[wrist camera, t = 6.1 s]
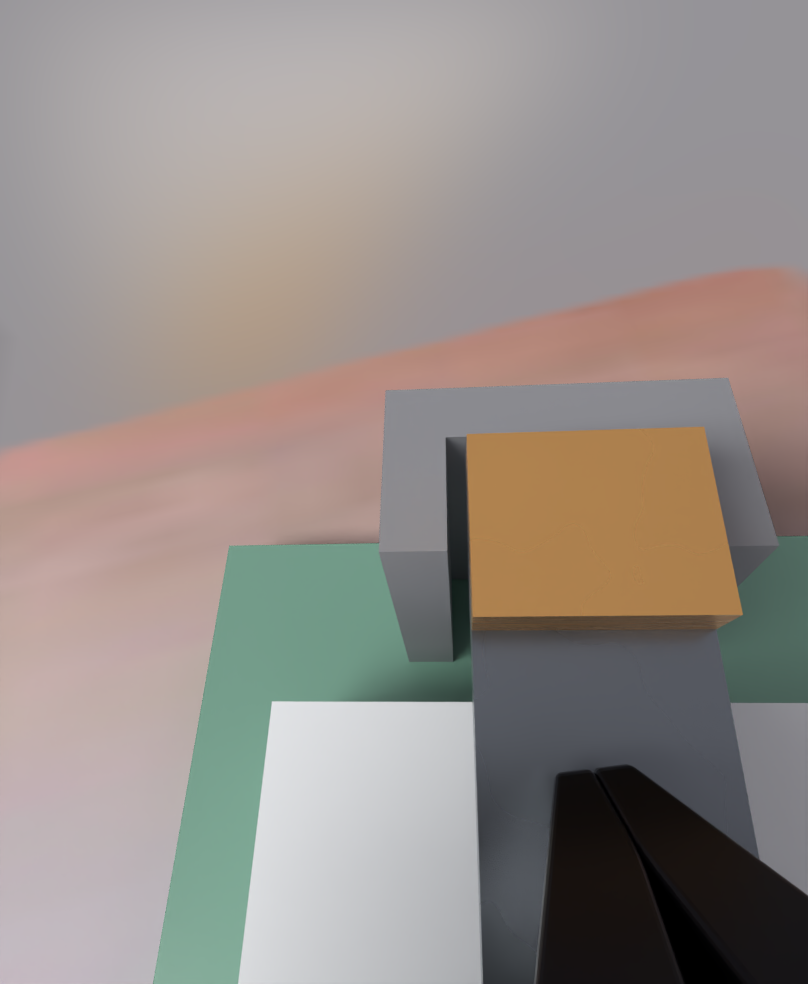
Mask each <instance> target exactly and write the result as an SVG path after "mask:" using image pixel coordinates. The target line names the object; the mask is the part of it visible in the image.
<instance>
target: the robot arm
mask: <svg viewBox="0 0 808 984" xmlns="http://www.w3.org/2000/svg"><path fill="white" fill-rule="evenodd" d="M534 984H808V895H807V894H806V893H804V892H803V891H802V890H800V889H799V888H798V887H796V886H795V885H793V884H792V883H791V882H789V881H788V880H787V879H785V878H784V877H783V876H781V875H780V874H779V873H777V872H776V871H775V870H773V869H772V868H771V867H769V866H768V865H766V864H765V863H764V862H762V861H761V860H760V859H758V858H757V857H756V856H754V855H753V854H752V853H750V852H749V851H748V850H746V849H745V848H744V847H742V846H741V845H739V844H738V843H737V842H735V841H734V840H733V839H731V838H730V837H729V836H727V835H726V834H725V833H723V832H722V831H721V830H719V829H718V828H717V827H715V826H714V825H712V824H711V823H710V822H708V821H707V820H706V819H704V818H703V817H702V816H700V815H699V814H698V813H696V812H695V811H694V810H692V809H691V808H690V807H688V806H687V805H685V804H684V803H683V802H681V801H680V800H679V799H677V798H676V797H675V796H673V795H672V794H671V793H669V792H668V791H667V790H665V789H664V788H663V787H661V786H660V785H658V784H657V783H656V782H654V781H653V780H652V779H650V778H649V777H648V776H646V775H645V774H644V773H642V772H641V771H640V770H638V769H637V768H635V767H634V766H631V765H629V764H622V765H614V766H606V767H599V768H596V769H595V770H594V772H593V771H591V770H589V769H582V770H574V771H566V772H559V773H558V774H557V775H556V776H555V780H554V790H553V800H552V810H551V820H550V829H549V839H548V849H547V859H546V869H545V879H544V889H543V899H542V909H541V918H540V928H539V938H538V948H537V958H536V968H535V978H534Z"/></svg>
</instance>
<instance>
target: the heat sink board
mask: <svg viewBox="0 0 808 984" xmlns="http://www.w3.org/2000/svg"><path fill="white" fill-rule="evenodd" d="M676 427H704V428H705V433H706V438H707V442H708V447H709V452H710V457H711V462H712V467H713V472H714V476H715V481H716V486H717V491H718V496H719V501H720V506H721V510H722V515H723V520H724V525H725V530H726V535H727V540H728V544H729V549H730V554H731V559H732V564H733V569H734V574H735V578H736V583H737V588H738V593H739V598H740V603H741V608H742V612H743V615H742V616H740V617H738V618H736V619H734V620H733V621H731V622H729V623H727V624H725V625H723V626H721V627H720V628H718V629H717V635H718V640H719V645H720V651H721V656H722V661H723V667H724V672H725V677H726V683H727V688H728V693H729V699H730V704H731V709H732V715H733V720H734V725H735V731H736V736H737V741H738V747H739V752H740V757H741V763H742V768H743V773H744V779H745V784H746V789H747V795H748V800H749V805H750V811H751V816H752V821H753V827H754V832H755V838H756V843H757V848H758V854H759V859H760V860H761V861H762V862H764V863H765V864H766V865H768V866H769V867H771V868H772V869H773V870H775V871H776V872H777V873H779V874H780V875H781V876H783V877H784V878H785V879H787V880H788V881H789V882H791V883H792V884H793V885H795V886H796V887H798V888H799V889H800V890H802V891H803V892H804V893H806V894H807V895H808V536H776V533H775V530H774V526H773V523H772V520H771V516H770V513H769V510H768V507H767V503H766V500H765V497H764V494H763V490H762V487H761V484H760V481H759V477H758V474H757V471H756V467H755V464H754V461H753V458H752V454H751V451H750V448H749V445H748V441H747V438H746V435H745V432H744V428H743V425H742V422H741V418H740V415H739V412H738V409H737V405H736V402H735V399H734V396H733V392H732V389H731V386H730V383H729V379H728V378H713V379H686V380H659V381H632V382H604V383H577V384H550V385H523V386H496V387H469V388H442V389H415V390H387V391H386V395H385V418H384V441H383V464H382V487H381V510H380V533H379V543H366V544H308V545H250V546H229V550H228V556H227V562H226V568H225V573H224V579H223V585H222V591H221V596H220V602H219V608H218V613H217V619H216V625H215V631H214V636H213V642H212V648H211V654H210V659H209V665H208V671H207V677H206V682H205V688H204V694H203V700H202V705H201V711H200V717H199V722H198V728H197V734H196V740H195V745H194V751H193V757H192V763H191V768H190V774H189V780H188V786H187V791H186V797H185V803H184V808H183V814H182V820H181V826H180V831H179V837H178V843H177V849H176V854H175V860H174V866H173V872H172V877H171V883H170V889H169V894H168V900H167V906H166V912H165V917H164V923H163V929H162V935H161V940H160V946H159V952H158V958H157V963H156V969H155V975H154V981H153V984H481V960H480V928H479V896H478V864H477V832H476V800H475V769H474V737H473V705H472V673H471V641H470V609H469V577H468V545H467V513H466V481H465V450H466V441H467V434H482V433H514V432H547V431H579V430H611V429H643V428H676Z"/></svg>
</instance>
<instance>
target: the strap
mask: <svg viewBox="0 0 808 984" xmlns="http://www.w3.org/2000/svg"><path fill="white" fill-rule="evenodd" d="M465 481H466V513H467V545H468V577H469V609H470V641H471V673H472V705H473V737H474V769H475V800H476V832H477V864H478V896H479V928H480V960H481V984H534V978H535V968H536V958H537V948H538V938H539V928H540V918H541V909H542V899H543V889H544V879H545V869H546V859H547V849H548V839H549V829H550V820H551V810H552V800H553V790H554V780H555V776H556V775H557V774H558V773H559V772H566V771H574V770H582V769H589V770H591V771H593V772H594V770H595V769H596V768H599V767H606V766H614V765H622V764H629V765H631V766H634V767H635V768H637V769H638V770H640V771H641V772H642V773H644V774H645V775H646V776H648V777H649V778H650V779H652V780H653V781H654V782H656V783H657V784H658V785H660V786H661V787H663V788H664V789H665V790H667V791H668V792H669V793H671V794H672V795H673V796H675V797H676V798H677V799H679V800H680V801H681V802H683V803H684V804H685V805H687V806H688V807H690V808H691V809H692V810H694V811H695V812H696V813H698V814H699V815H700V816H702V817H703V818H704V819H706V820H707V821H708V822H710V823H711V824H712V825H714V826H715V827H717V828H718V829H719V830H721V831H722V832H723V833H725V834H726V835H727V836H729V837H730V838H731V839H733V840H734V841H735V842H737V843H738V844H739V845H741V846H742V847H744V848H745V849H746V850H748V851H749V852H750V853H752V854H753V855H754V856H756V857H757V858H758V859H759V854H758V848H757V843H756V838H755V832H754V827H753V821H752V816H751V811H750V805H749V800H748V795H747V789H746V784H745V779H744V773H743V768H742V763H741V757H740V752H739V747H738V741H737V736H736V731H735V725H734V720H733V715H732V709H731V704H730V699H729V693H728V688H727V683H726V677H725V672H724V667H723V661H722V656H721V651H720V645H719V640H718V635H717V629H718V628H720V627H721V626H723V625H725V624H727V623H729V622H731V621H733V620H734V619H736V618H738V617H740V616H742V615H743V612H742V608H741V603H740V598H739V593H738V588H737V583H736V578H735V574H734V569H733V564H732V559H731V554H730V549H729V544H728V540H727V535H726V530H725V525H724V520H723V515H722V510H721V506H720V501H719V496H718V491H717V486H716V481H715V476H714V472H713V467H712V462H711V457H710V452H709V447H708V442H707V438H706V433H705V428H704V427H676V428H643V429H611V430H579V431H547V432H514V433H482V434H467V441H466V450H465Z"/></svg>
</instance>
